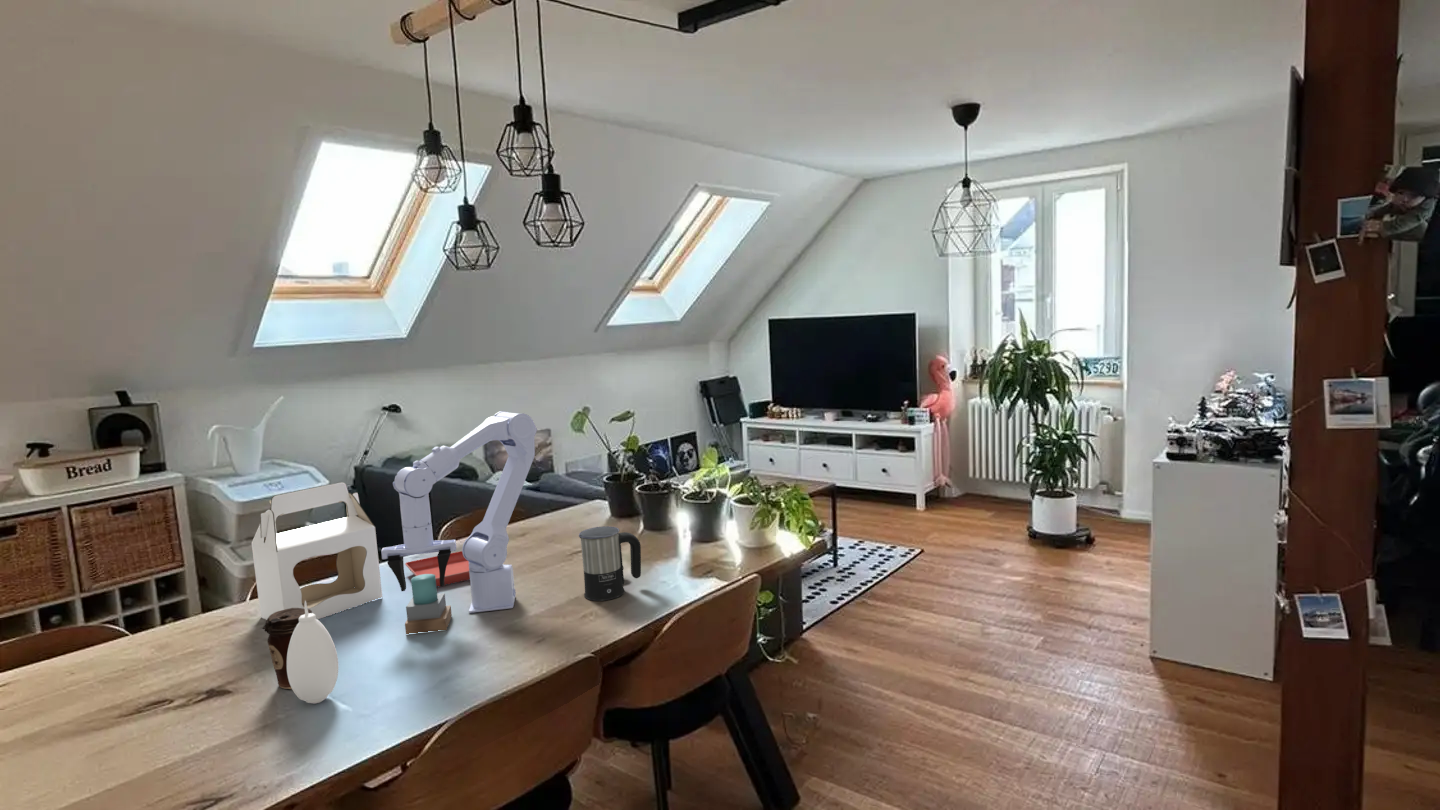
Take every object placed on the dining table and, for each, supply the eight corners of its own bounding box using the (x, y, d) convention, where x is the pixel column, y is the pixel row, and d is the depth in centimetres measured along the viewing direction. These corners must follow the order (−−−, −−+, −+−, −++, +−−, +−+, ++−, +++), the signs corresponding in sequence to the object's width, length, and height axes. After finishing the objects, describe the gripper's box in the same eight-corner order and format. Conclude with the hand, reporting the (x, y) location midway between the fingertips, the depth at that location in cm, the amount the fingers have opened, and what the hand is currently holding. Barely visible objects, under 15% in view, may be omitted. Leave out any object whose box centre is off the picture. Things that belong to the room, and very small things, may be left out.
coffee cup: (268, 697, 139) (259, 626, 137) (270, 679, 146) (262, 611, 144) (324, 684, 143) (316, 615, 141) (323, 667, 150) (315, 601, 148)
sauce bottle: (289, 716, 132) (276, 612, 129) (293, 696, 139) (281, 597, 136) (341, 705, 135) (329, 603, 132) (342, 686, 142) (331, 589, 140)
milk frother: (597, 605, 175) (592, 539, 173) (561, 588, 187) (556, 527, 185) (649, 587, 184) (645, 525, 183) (612, 573, 196) (607, 514, 194)
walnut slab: (451, 618, 173) (450, 605, 173) (446, 632, 165) (445, 618, 165) (413, 623, 171) (412, 609, 171) (406, 637, 164) (404, 623, 163)
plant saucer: (497, 576, 199) (496, 563, 199) (423, 594, 189) (421, 580, 189) (475, 560, 214) (474, 548, 214) (405, 575, 204) (404, 562, 204)
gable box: (356, 588, 195) (343, 476, 192) (384, 598, 187) (371, 481, 183) (259, 618, 178) (243, 496, 174) (285, 630, 170) (269, 502, 166)
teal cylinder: (441, 596, 170) (439, 573, 169) (431, 604, 165) (428, 581, 164) (420, 596, 170) (417, 574, 170) (409, 604, 166) (406, 581, 165)
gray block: (446, 606, 172) (444, 593, 172) (439, 617, 166) (438, 603, 165) (414, 609, 171) (413, 596, 171) (407, 621, 165) (406, 607, 164)
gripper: (454, 515, 171) (460, 576, 173) (382, 523, 168) (389, 585, 169) (452, 524, 164) (458, 587, 166) (377, 532, 161) (384, 596, 163)
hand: (423, 587), depth 167 cm, fingers open, 7 cm apart
